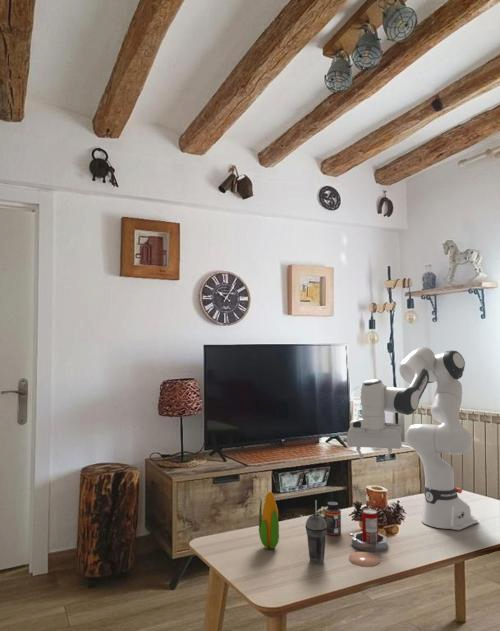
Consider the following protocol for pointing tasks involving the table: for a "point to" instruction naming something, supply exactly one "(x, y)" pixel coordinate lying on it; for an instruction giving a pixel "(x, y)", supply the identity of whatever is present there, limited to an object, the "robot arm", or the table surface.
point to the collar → (369, 546)
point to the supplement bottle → (333, 519)
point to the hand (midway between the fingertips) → (374, 459)
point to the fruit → (322, 511)
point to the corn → (269, 522)
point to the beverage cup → (316, 537)
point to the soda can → (370, 526)
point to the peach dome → (364, 559)
